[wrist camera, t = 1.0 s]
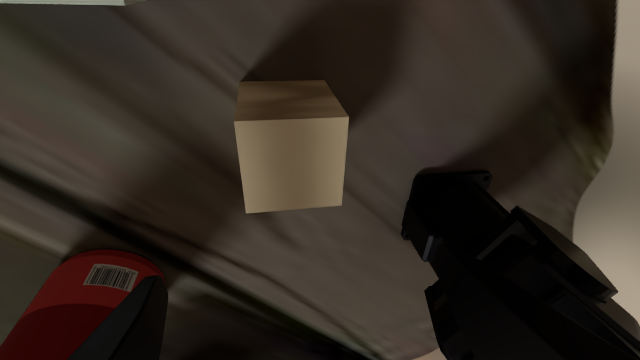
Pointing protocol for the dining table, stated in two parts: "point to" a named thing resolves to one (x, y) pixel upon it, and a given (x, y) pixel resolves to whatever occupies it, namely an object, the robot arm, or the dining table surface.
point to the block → (290, 145)
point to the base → (75, 2)
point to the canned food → (74, 304)
